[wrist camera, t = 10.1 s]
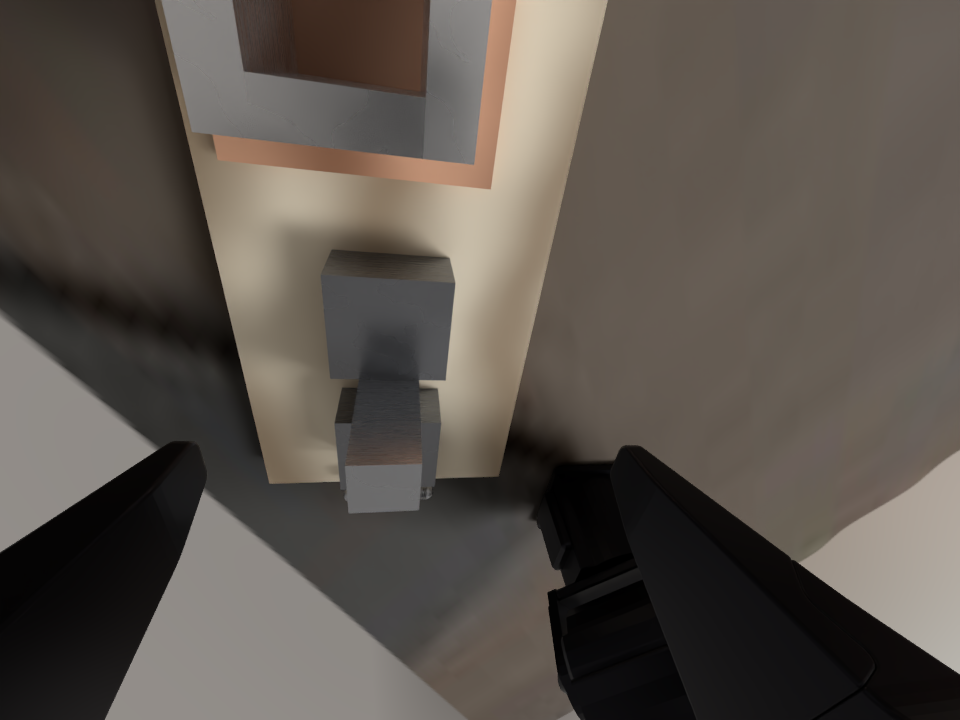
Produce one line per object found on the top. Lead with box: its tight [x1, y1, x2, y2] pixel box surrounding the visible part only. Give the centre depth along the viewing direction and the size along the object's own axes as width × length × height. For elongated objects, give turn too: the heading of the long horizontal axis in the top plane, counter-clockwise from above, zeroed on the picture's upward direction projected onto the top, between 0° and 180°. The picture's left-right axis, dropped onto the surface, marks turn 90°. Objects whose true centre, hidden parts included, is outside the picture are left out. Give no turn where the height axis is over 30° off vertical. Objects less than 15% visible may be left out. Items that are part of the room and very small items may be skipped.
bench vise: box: [321, 249, 456, 513], centre depth 17 cm, size 5×14×7 cm, turn 172°
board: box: [155, 0, 608, 484], centre depth 17 cm, size 13×26×2 cm, turn 173°
